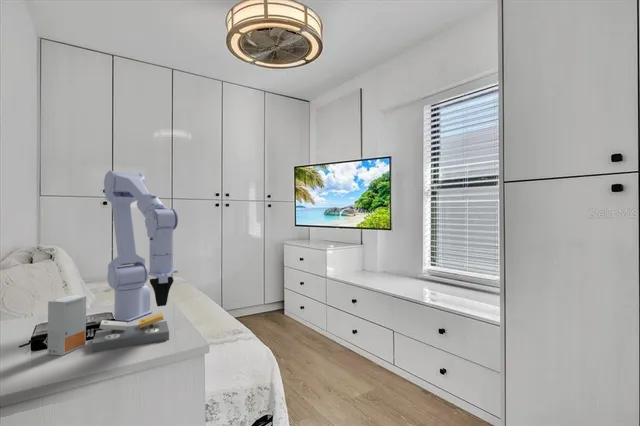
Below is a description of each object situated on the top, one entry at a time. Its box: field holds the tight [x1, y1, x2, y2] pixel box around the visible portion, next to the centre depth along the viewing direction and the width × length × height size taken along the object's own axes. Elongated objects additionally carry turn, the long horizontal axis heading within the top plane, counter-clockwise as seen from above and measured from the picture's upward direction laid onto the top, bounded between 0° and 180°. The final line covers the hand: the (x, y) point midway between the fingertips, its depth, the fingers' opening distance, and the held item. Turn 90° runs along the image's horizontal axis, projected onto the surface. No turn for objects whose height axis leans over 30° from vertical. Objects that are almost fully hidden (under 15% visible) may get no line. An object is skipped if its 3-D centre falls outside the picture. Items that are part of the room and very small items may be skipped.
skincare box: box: [47, 294, 87, 356], centre depth 76 cm, size 6×4×12 cm
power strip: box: [91, 320, 170, 353], centre depth 83 cm, size 16×9×3 cm, turn 119°
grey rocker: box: [99, 319, 128, 330], centre depth 83 cm, size 6×3×1 cm, turn 119°
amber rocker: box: [138, 312, 164, 328], centre depth 87 cm, size 6×3×1 cm, turn 118°
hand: (161, 305), depth 88 cm, fingers closed
